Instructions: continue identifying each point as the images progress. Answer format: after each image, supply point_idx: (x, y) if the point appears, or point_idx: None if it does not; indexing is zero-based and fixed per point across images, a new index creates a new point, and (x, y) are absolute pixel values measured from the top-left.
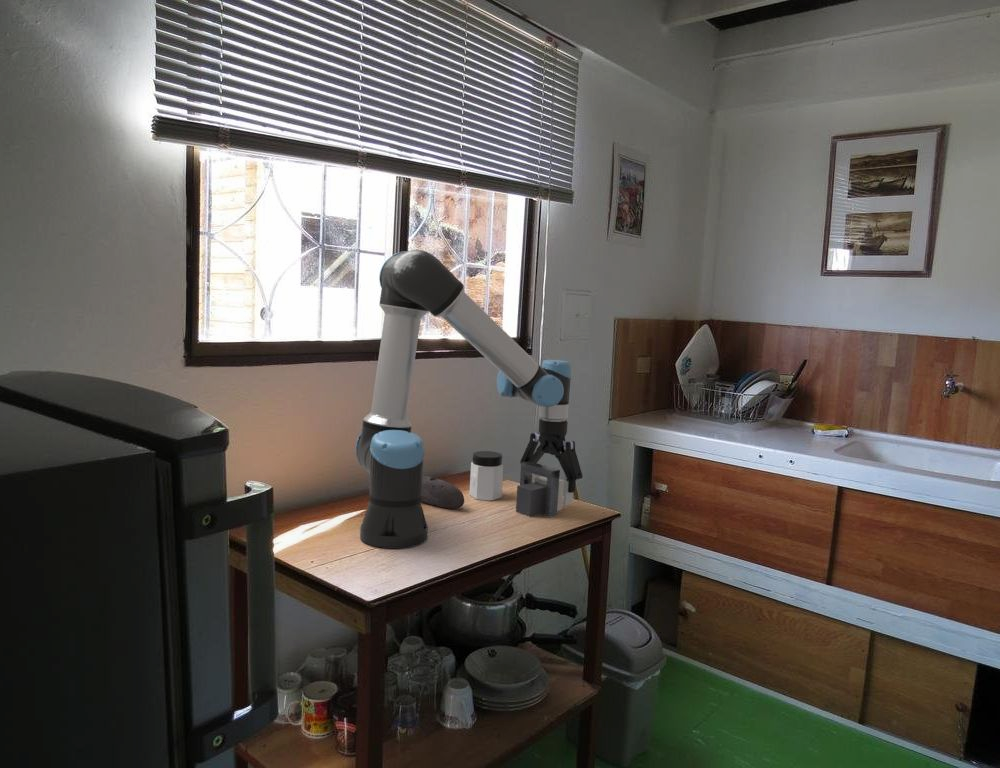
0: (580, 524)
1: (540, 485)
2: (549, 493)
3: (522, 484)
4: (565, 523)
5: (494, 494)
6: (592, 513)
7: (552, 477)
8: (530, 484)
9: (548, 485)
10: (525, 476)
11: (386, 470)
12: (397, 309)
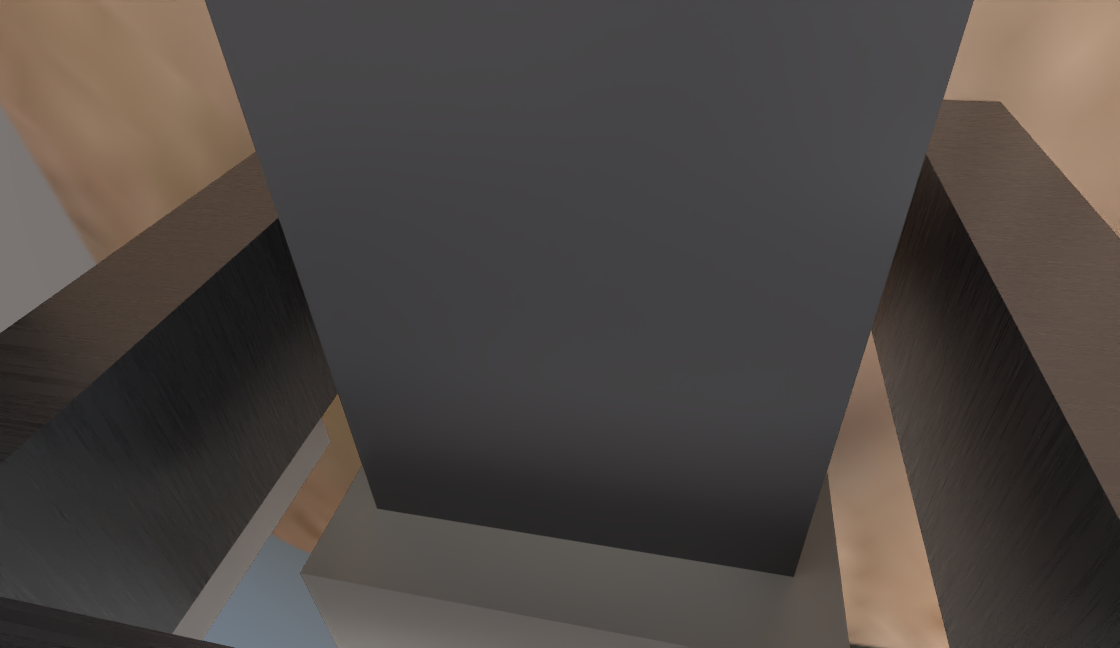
0: (48, 175)
1: (514, 446)
2: (136, 252)
3: (1096, 347)
4: (92, 63)
5: None
6: (319, 474)
7: None
8: (736, 352)
9: (39, 374)
10: (1116, 603)
11: None
12: None
